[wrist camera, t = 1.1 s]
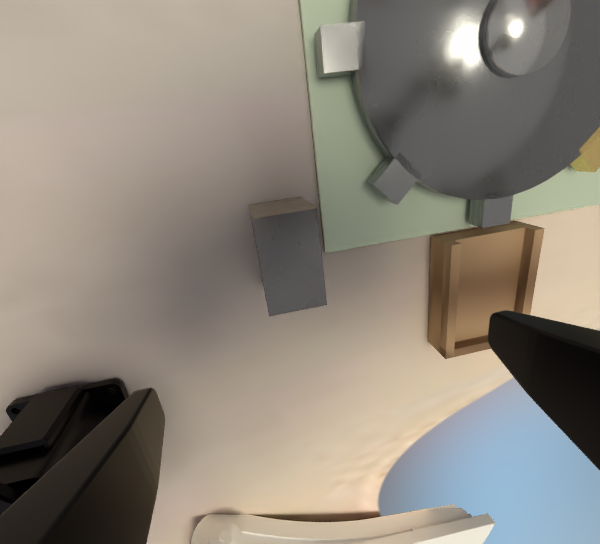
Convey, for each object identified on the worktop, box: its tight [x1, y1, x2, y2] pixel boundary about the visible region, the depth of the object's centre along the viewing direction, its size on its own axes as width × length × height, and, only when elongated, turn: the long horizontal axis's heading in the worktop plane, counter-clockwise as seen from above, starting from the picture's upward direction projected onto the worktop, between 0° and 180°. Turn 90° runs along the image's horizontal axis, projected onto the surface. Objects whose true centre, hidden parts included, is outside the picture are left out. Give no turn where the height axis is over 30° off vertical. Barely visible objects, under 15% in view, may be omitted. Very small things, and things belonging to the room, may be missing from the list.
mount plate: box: [299, 0, 600, 253], centre depth 17 cm, size 20×20×1 cm
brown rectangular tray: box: [428, 221, 544, 359], centre depth 21 cm, size 8×6×2 cm
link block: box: [249, 197, 327, 316], centre depth 17 cm, size 5×3×4 cm, turn 8°
